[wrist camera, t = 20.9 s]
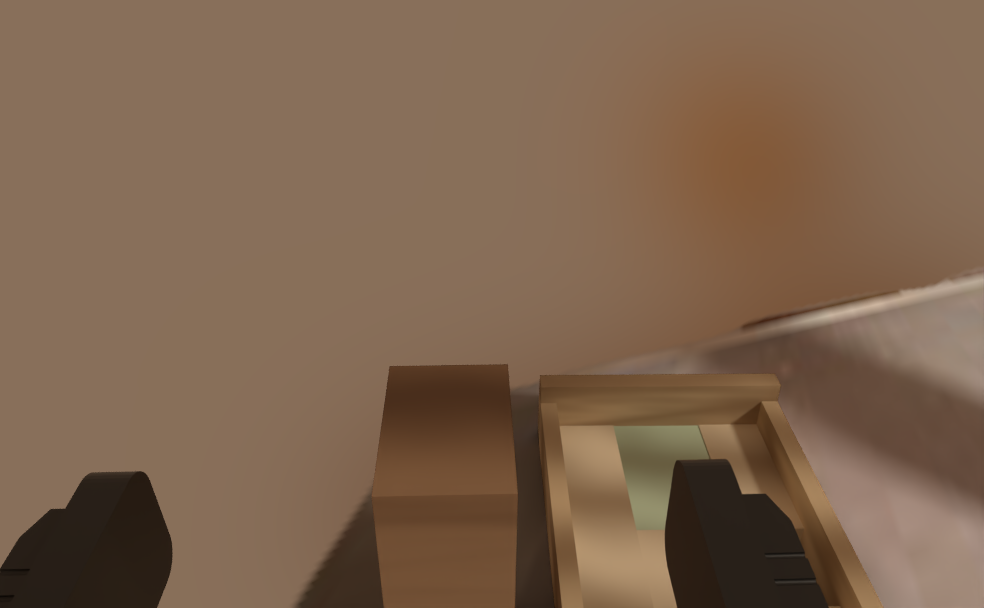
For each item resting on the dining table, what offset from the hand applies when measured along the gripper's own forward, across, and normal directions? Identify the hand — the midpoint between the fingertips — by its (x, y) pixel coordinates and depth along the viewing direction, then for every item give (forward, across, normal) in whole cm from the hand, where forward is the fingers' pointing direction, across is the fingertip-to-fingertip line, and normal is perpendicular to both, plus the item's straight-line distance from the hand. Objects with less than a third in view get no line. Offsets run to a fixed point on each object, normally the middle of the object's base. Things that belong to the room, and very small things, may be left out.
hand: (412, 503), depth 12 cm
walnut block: (+9, 0, +19) cm, 21 cm away
